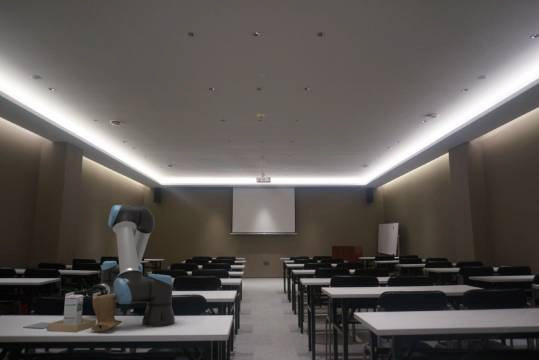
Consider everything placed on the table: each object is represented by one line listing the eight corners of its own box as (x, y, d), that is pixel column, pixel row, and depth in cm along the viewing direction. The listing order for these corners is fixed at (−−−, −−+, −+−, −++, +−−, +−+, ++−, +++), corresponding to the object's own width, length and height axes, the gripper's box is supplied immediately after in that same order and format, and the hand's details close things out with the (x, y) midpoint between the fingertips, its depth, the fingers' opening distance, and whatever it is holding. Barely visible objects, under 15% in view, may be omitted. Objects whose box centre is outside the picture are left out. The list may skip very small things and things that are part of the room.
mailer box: (112, 320, 190) (112, 314, 190) (76, 332, 164) (77, 324, 165) (85, 319, 192) (86, 313, 193) (46, 330, 167) (47, 323, 168)
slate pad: (61, 323, 182) (61, 323, 182) (43, 328, 171) (43, 327, 171) (41, 323, 184) (41, 322, 184) (22, 327, 173) (22, 327, 173)
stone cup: (100, 326, 177) (100, 293, 179) (125, 324, 176) (124, 291, 179) (83, 334, 162) (83, 298, 164) (110, 331, 161) (109, 295, 164)
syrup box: (75, 329, 169) (77, 296, 172) (62, 329, 169) (65, 296, 172) (81, 327, 175) (84, 294, 177) (68, 327, 175) (71, 294, 177)
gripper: (122, 298, 204) (104, 305, 183) (76, 298, 204) (53, 304, 184) (123, 284, 205) (105, 289, 184) (77, 284, 206) (55, 288, 185)
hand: (79, 296), depth 184 cm, fingers open, 13 cm apart
